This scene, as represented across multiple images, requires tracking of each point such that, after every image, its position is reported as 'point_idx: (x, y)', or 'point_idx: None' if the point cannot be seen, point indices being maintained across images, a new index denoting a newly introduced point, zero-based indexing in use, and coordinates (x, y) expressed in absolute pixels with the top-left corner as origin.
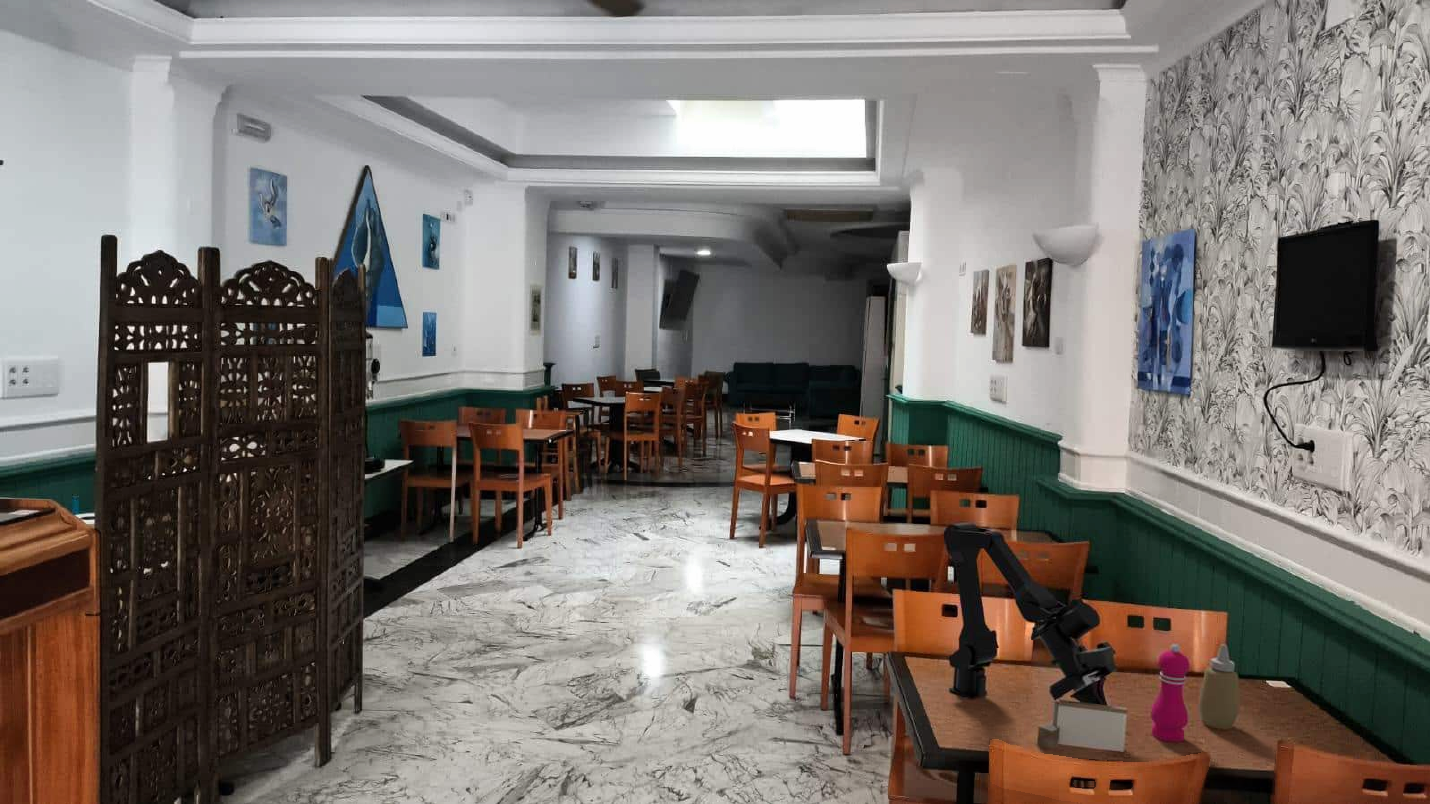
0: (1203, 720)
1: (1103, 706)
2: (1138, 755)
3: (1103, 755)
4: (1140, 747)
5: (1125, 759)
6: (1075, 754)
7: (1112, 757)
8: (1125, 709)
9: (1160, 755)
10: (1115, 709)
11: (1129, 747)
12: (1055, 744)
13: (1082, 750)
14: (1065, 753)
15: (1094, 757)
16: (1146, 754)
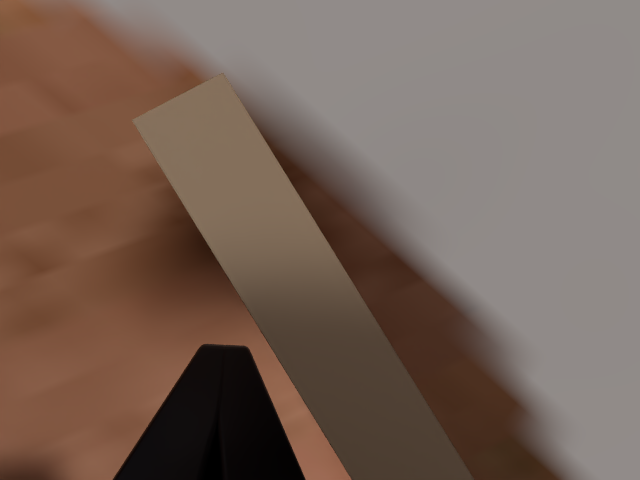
0: None
1: (396, 411)
2: None
3: (371, 290)
4: (9, 162)
5: (315, 163)
6: (507, 424)
7: (354, 235)
8: (228, 100)
9: (47, 16)
10: (318, 234)
11: (78, 218)
12: None
13: None
14: (546, 477)
15: (450, 317)
16: (110, 91)
